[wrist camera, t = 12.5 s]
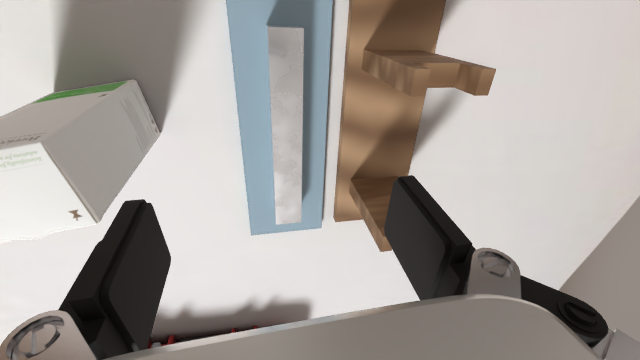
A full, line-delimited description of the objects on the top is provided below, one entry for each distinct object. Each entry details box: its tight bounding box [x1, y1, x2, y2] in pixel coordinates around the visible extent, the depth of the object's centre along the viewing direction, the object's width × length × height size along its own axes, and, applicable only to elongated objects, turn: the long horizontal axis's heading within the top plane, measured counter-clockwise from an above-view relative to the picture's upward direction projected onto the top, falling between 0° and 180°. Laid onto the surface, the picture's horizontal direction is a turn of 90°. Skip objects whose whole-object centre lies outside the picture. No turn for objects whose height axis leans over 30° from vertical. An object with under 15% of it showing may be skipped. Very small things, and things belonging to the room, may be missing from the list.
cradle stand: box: [333, 0, 496, 252], centre depth 32 cm, size 28×10×13 cm, turn 178°
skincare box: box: [0, 79, 160, 243], centre depth 24 cm, size 8×7×16 cm
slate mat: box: [226, 0, 333, 235], centre depth 34 cm, size 30×10×1 cm, turn 178°
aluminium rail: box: [266, 25, 304, 225], centre depth 33 cm, size 22×3×3 cm, turn 177°
